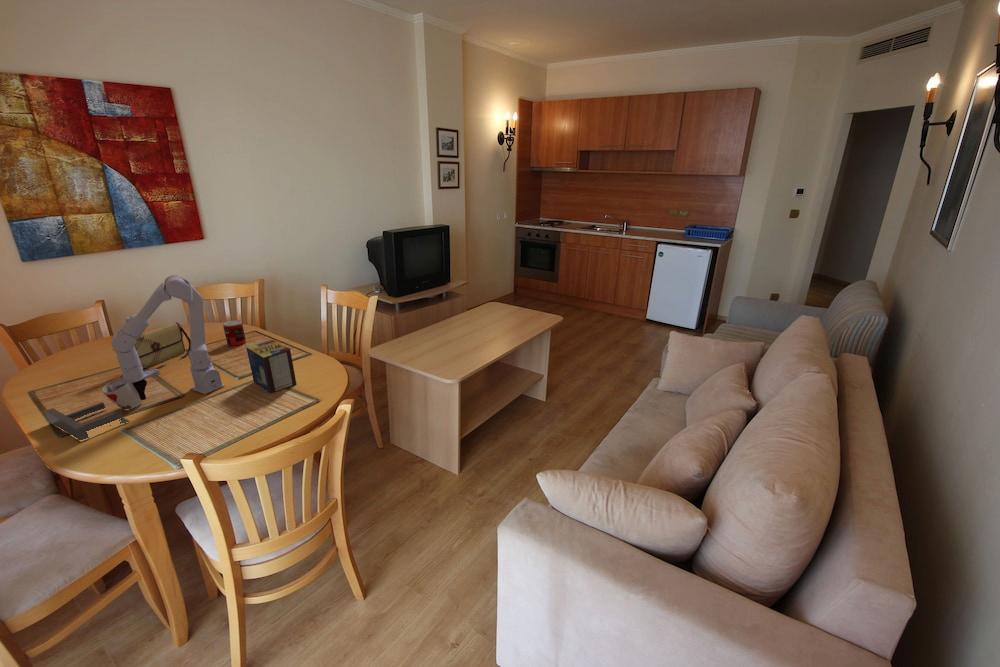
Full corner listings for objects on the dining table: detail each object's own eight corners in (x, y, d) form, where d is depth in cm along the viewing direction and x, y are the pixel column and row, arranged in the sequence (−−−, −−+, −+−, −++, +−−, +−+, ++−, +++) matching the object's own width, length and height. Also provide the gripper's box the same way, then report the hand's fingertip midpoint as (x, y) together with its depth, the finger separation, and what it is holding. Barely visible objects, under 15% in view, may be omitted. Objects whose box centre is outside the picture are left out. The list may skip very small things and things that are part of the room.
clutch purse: (132, 380, 174) (121, 346, 168) (119, 378, 175) (108, 344, 170) (198, 352, 201) (190, 321, 195) (186, 350, 202) (178, 320, 197)
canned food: (229, 341, 213) (225, 320, 209) (248, 340, 215) (243, 319, 211) (225, 347, 206) (220, 326, 202) (244, 346, 208) (239, 324, 204)
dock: (130, 422, 146) (125, 409, 144) (81, 442, 135) (76, 429, 133) (98, 406, 155) (93, 393, 153) (50, 423, 144) (44, 410, 142)
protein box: (279, 373, 182) (272, 339, 176) (297, 384, 172) (290, 348, 167) (252, 382, 174) (245, 346, 168) (270, 394, 165) (263, 357, 159)
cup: (115, 410, 154) (97, 389, 148) (139, 395, 160) (122, 374, 154) (127, 416, 150) (108, 395, 145) (150, 400, 156) (133, 380, 150)
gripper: (148, 356, 160) (158, 388, 165) (100, 371, 148) (112, 405, 153) (158, 359, 157) (168, 392, 162) (110, 375, 145) (122, 410, 150)
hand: (142, 399), depth 157 cm, fingers closed, pressing on cup
